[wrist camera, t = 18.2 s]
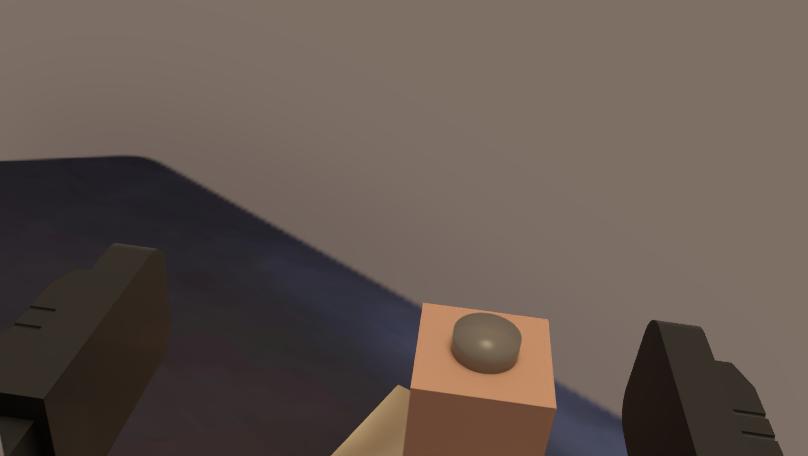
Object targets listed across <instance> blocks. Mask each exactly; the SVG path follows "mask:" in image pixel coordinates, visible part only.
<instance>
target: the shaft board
mask: <svg viewBox="0 0 808 456" xmlns="http://www.w3.org/2000/svg"><path fill="white" fill-rule="evenodd" d="M409 398H410V390H408V389H406V388H404V387H401V386H399V385H398V386H397V387H396V388H395V389H394V390H393V391H392V392H391V393H390V394H389V395H388V396H387V397H386V398H385V399H384V400H383V401H382V402H381V404H380V405H379V406H378V407H377V408H376V409H375V410H374V411H373V412H372V413H371V414H370V415H369V416H368V417H367V418H366V419H365V420H364V422H363V423H362V424H361V425H360V426H359V427H358V428H357V429H356V430H355V431H354V432H353V433H352V434H351V435H350V436H349V437H348V438H347V440H346V441H345V442H344V443H343V444H342V445H341V446H340V447H339V448H338V449H337V450H336V451H335V452H334V453H333V454H332V455H331V456H403V448H404V440H405V431H406V423H407V415H408V406H409Z"/></svg>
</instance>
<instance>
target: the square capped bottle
mask: <svg viewBox="0 0 808 456" xmlns="http://www.w3.org/2000/svg"><path fill="white" fill-rule="evenodd" d="M555 412H556V399H555V388H554V378H553V367H552V356H551V346H550V335H549V324H548V320H547V319H540V318H533V317H525V316H518V315H510V314H502V313H495V312H488V311H481V310H473V309H466V308H458V307H451V306H443V305H436V304H429V303H423V308H422V315H421V322H420V329H419V335H418V342H417V349H416V356H415V362H414V369H413V376H412V382H411V390H410V398H409V406H408V415H407V423H406V431H405V440H404V448H403V456H544V455H545V451H546V447H547V443H548V439H549V435H550V431H551V428H552V424H553V420H554V416H555Z"/></svg>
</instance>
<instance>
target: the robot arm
mask: <svg viewBox="0 0 808 456" xmlns="http://www.w3.org/2000/svg"><path fill="white" fill-rule="evenodd" d="M170 328H171V322H170V310H169V298H168V287H167V275H166V264H165V257H164V254H163V252H162V251H161V250H160V249H154V248H147V247H139V246H132V245H125V244H118V243H115V244H112V245H111V246H110V247H109V248H108V249H107V250H106V251H105V253H104V254H103V255H102V256H101V257H100V258H99V260H98V261H97V262H96V263H95V264H94V266H93V267H92V268H91V269H90V270H86V269H79V268H77V269H75V270H74V271H72V272H70V273H68V274H67V275H65V276H63V277H61V278H60V279H58V280H56V281H54V282H53V283H51V284H49V285H48V286H47V287H46V288H45V290H44V291H43V292H42V293H41V294H40V295H39V296H38V297H37V298H36V300H35V301H34V302H33V303H32V304H31V305H30V309H29V310H26V311H25V312H24V313H23V314H22V315H21V316H20V317H19V318H18V320H17V321H16V322H15V325H14V327H10V328H9V330H8V331H7V332H6V333H5V334H4V335H3V336H2V337H1V338H0V456H106V455H107V454H108V452H109V450H110V449H111V447H112V445H113V443H114V442H115V440H116V438H117V437H118V435H119V433H120V431H121V430H122V428H123V426H124V425H125V423H126V421H127V419H128V418H129V416H130V414H131V413H132V411H133V409H134V408H135V406H136V404H137V402H138V401H139V399H140V397H141V396H142V394H143V392H144V390H145V389H146V387H147V385H148V384H149V382H150V380H151V378H152V377H153V375H154V373H155V372H156V370H157V368H158V366H159V365H160V363H161V361H162V359H163V357H164V355H165V353H166V350H167V346H168V342H169V337H170ZM765 415H766V413H765V411H764V409H763V406H762V404H761V401H760V399H759V397H758V394H757V392H756V390H755V388H754V386H753V385H752V384H751V383H750V382H749V381H748V380H747V379H746V378H745V377H744V376H743V375H742V373H741V372H740V371H739V370H738V369H737V368H736V367H735V366H734V365H733V364H732V363H729V362H721V361H715V360H714V357H713V354H712V352H711V349H710V346H709V344H708V341H707V338H706V336H705V333H704V331H703V329H702V328H701V327H699V326H692V325H684V324H678V323H670V322H664V321H657V320H652V321H651V322H650V323H649V324H648V326H647V328H646V330H645V333H644V336H643V339H642V342H641V345H640V348H639V351H638V354H637V358H636V360H635V363H634V367H633V369H632V372H631V375H630V378H629V381H628V384H627V387H626V390H625V395H624V399H623V407H622V426H623V433H624V438H625V443H626V448H627V453H628V456H783V453H782V451H781V448H780V446H779V444H778V442H777V441H775V439H774V438H775V435H774V432H773V430H772V427H771V425H770V423H769V420H768V419H766V418H765Z"/></svg>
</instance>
